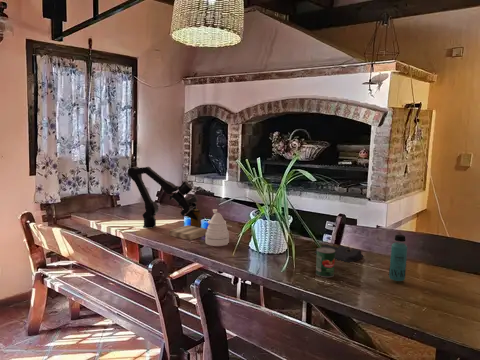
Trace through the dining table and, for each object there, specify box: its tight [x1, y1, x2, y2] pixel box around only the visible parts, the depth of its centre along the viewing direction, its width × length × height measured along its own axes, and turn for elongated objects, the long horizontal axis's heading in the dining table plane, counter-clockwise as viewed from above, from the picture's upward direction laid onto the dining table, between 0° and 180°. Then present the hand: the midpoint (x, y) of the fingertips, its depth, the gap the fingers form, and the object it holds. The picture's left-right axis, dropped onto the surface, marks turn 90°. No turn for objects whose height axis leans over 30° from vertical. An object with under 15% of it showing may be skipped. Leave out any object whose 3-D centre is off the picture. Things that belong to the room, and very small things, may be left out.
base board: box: [169, 224, 208, 241], centre depth 243 cm, size 16×16×3 cm
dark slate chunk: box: [314, 244, 364, 263], centre depth 209 cm, size 15×22×5 cm
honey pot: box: [205, 209, 230, 247], centre depth 227 cm, size 13×13×18 cm
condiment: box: [190, 209, 202, 228], centre depth 255 cm, size 7×8×12 cm
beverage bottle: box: [388, 234, 409, 282], centre depth 173 cm, size 6×7×20 cm
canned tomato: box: [315, 246, 336, 278], centre depth 181 cm, size 8×8×11 cm
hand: (198, 218), depth 256 cm, fingers closed on condiment, 6 cm apart
